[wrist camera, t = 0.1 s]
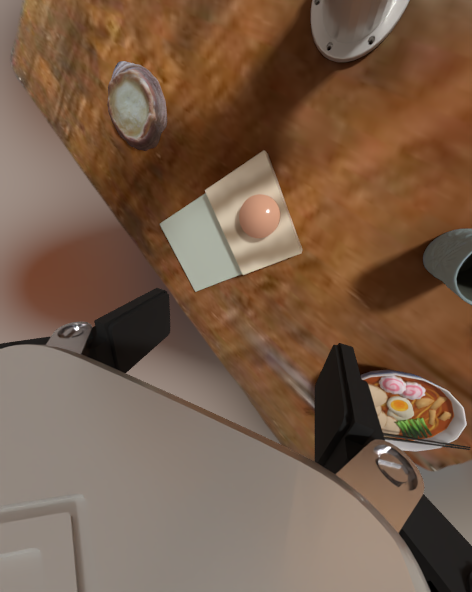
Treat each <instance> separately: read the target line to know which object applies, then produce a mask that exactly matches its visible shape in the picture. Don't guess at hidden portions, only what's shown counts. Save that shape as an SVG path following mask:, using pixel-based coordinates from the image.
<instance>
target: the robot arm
mask: <svg viewBox="0 0 472 592" xmlns="http://www.w3.org/2000/svg"><path fill="white" fill-rule="evenodd" d="M408 3H409V0H312V6H311V29H312V35H313V39H314V42H315V44H316V46H317V48H318V50H319V51H320V52H321V54H322V55H323V56H324V57H326V58H328V59H329V60H332V61H335V62H349V61H353V60H356V59H358V58H360V57H363V56H365V55H366V54H368V53H369V52H371V51H372V50H373V49H375V48H376V47H377V46H378V45H379V44H380V43H381V42H382V41H383V40H384V39H385V38H386V37H387V36H388V35H389V33H390V32H391V31H392V30H393V28H394V27H395V25H396V24H397V23H398V21H399V20H400V18H401V16H402V14H403V12H404V10H405V9H406V7H407V5H408ZM317 4H318V5H317ZM370 42H371V43H372V44H371V45H369V43H370ZM329 48H331V50H329V51H328V49H329ZM169 333H170V309H169V295H168V294H167V292H166V291H165V290H162V289H159V288H156V289H154V290H152V291H150V292H148V293H146V294H144V295H142V296H140V297H138V298H136V299H135V300H133V301H131V302H129V303H127V304H125V305H123V306H121V307H119V308H117V309H116V310H114V311H112V312H110V313H108V314H106V315H104V316H102V317H100V318H98V319H97V320H95V326H94V327H93V328H92V326H91V324H89V323H87V322H74V323H70V324H66V325H64V326H62V327H60V328H58V329H57V330H56V331H55V332H54V333H53V335H52V336H51V337H45V338H37V339H30V340H23V341H16V342H9V343H3V344H0V592H472V546H471V545H470V544H469V542H468V541H467V540H466V539H465V538H464V537H463V536H462V535H461V534H460V533H459V532H458V531H457V530H456V529H455V527H453V525H452V524H451V523H450V522H449V521H448V520H447V519H446V518H445V517H444V516H443V515H442V513H441V512H440V511H439V510H438V509H437V508H436V507H435V506H434V505H433V504H432V503H431V502H430V501H429V500H428V499H427V497H425V495H424V494H423V493H424V488H425V487H424V481H423V478H422V476H421V474H420V472H419V470H418V468H417V467H416V465H415V464H414V463H413V461H412V460H411V459H410V458H409V457H408V456H407V455H406V454H405V453H404V452H403V451H402V450H400V449H399V448H398V447H397V446H395V445H393V444H391V443H390V442H387V441H385V439H384V435H383V432H382V429H381V425H380V422H379V419H378V415H377V412H376V409H375V405H374V402H373V398H372V395H371V392H370V388H369V385H368V383H367V382H366V381H365V380H362V379H361V375H360V372H359V368H358V364H357V360H356V357H355V353H354V349H353V347H351V346H348V345H344V344H341V343H339V344H338V345H333V347H332V349H331V351H330V353H329V356H328V358H327V360H326V362H325V364H324V367H323V369H322V371H321V373H320V375H319V378H318V380H317V382H316V385H315V462H314V461H312V460H310V459H308V458H306V457H304V456H303V455H301V454H299V453H297V452H295V451H293V450H291V449H289V448H287V447H284V446H282V445H280V444H278V443H276V442H274V441H272V440H270V439H268V438H266V437H264V436H262V435H259V434H257V433H255V432H253V431H251V430H249V429H247V428H244V427H242V426H240V425H238V424H236V423H233V422H231V421H229V420H227V419H225V418H223V417H220V416H218V415H216V414H214V413H212V412H210V411H207V410H205V409H203V408H201V407H199V406H196V405H194V404H192V403H190V402H188V401H185V400H183V399H181V398H179V397H177V396H174V395H172V394H170V393H168V392H166V391H163V390H161V389H159V388H157V387H154V386H152V385H150V384H148V383H146V382H143V381H141V380H139V379H137V378H134V377H132V376H130V375H128V374H126V372H127V371H129V370H130V369H131V368H132V367H133V366H134V365H135V364H136V363H137V362H139V361H140V360H141V359H142V358H143V357H144V356H145V355H147V354H148V353H149V352H150V351H151V350H152V349H153V348H154V347H155V346H157V345H158V344H159V343H160V342H161V341H162V340H163V339H165V338H166V337H167V336H168V334H169Z"/></svg>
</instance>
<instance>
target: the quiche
mask: <svg viewBox="0 0 472 592" xmlns="http://www.w3.org/2000/svg"><path fill="white" fill-rule="evenodd" d="M108 111H109V115H110V117H111V119H112V121H113V123H114V125H115V127H116V130H117V132H118V133H119V135H120V136H121V137H122V138H123V139H124V140H126V141H127V143H128V144H129V145H130V146H131V147H134V148H136V149H138V150H144V151H147V150H148V149H150V148H154V147H156V146H157V144H158V142H159V139H160V136H161V133H162V131H163V130H164V129H165V128H166V125H167V112H166V102H165V99H164V96H163V93H162V90H161V87H160V85H159V82H158V80H157V79H156V78H155V77H154V76H153V75H152V74H151V72H150V71H149V70H147V69H146V68H144V67H142V66H141V65H136V64H133V63H129V62H125V61H122V62H119V63H118V64H117V65H116V67H115V69H114V72H113V75H112V80H111V81H110V83H109V85H108Z"/></svg>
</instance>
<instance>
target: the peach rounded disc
mask: <svg viewBox="0 0 472 592" xmlns="http://www.w3.org/2000/svg"><path fill="white" fill-rule="evenodd" d="M280 218H281V212H280V208H279V205H278V204H277V202H276V201H275V200H274V199H273V198H272V197H270V196H267V195H262V194H257V195H253V196H251V197H249V198H248V199H247V200H246V201H245V202H244V203H243V205H242V207H241V209H240V213H239V221H240V225H241V227H242V229H243V231H244V232H245V233H246V234H247V235H249V236H251V237H253V238H264V237H267V236H269V235H270V234H271V233H273V232H274V231H275V230H276V228H277V227H278V225H279V222H280Z"/></svg>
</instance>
